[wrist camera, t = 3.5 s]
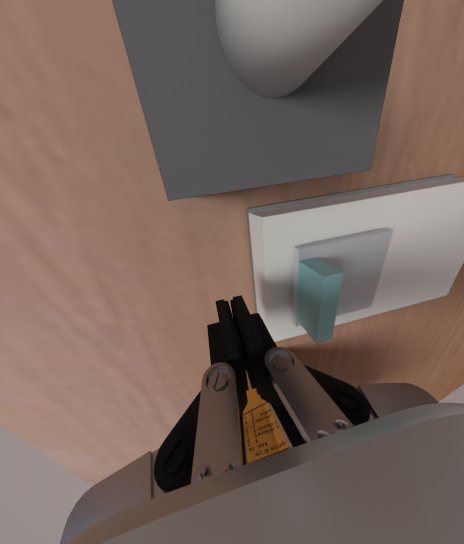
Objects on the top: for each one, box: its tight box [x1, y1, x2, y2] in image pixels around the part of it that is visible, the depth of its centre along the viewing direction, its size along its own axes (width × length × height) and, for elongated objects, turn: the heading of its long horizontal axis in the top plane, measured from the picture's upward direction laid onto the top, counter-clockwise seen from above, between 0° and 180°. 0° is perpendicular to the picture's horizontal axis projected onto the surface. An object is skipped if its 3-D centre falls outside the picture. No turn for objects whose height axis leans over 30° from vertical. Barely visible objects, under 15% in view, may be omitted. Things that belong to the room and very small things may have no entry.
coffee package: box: [243, 371, 290, 464], centre depth 14 cm, size 10×12×22 cm
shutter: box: [292, 229, 393, 343], centre depth 12 cm, size 7×7×3 cm
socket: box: [246, 174, 464, 342], centre depth 15 cm, size 20×12×4 cm, turn 98°
